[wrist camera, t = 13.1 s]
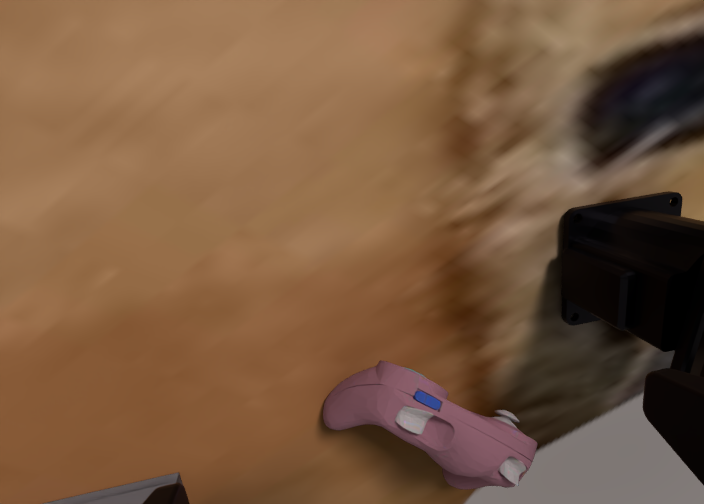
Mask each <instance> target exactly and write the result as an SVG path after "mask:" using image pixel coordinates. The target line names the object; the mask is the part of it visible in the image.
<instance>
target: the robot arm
mask: <svg viewBox="0 0 704 504" xmlns="http://www.w3.org/2000/svg"><path fill="white" fill-rule="evenodd" d="M670 200H671V203H670ZM681 208H682V196H681V194H679V193H677V192H662V193H656V194H651V195H645V196H639V197H633V198H627V199H621V200H616V201H610V202H604V203H598V204H592V205H586V206H581V207H575V208H571V209H569V210H568V211H567V212H566V214H565V216H564V234H563V253H562V290H561V294H562V319H563V320H564V321H565V322H566V323H568V324H569V325H578V324H583V323H588V322H592V321H597V320H603V321H605V322H607V323H608V324H610V325H612V326H614V327H615V328H617V329H619V330H626V331H628V332H630V333H631V334H633V335H635V336H637V337H638V338H640V339H642V340H644V341H646V342H647V343H649V344H651V345H653V346H654V347H656V348H658V349H660V350H661V351H663V352H668V351H672V350H674V351H675V353H674V356H673V359H672V363H671V366H670V369H669V368H666V369H661V370H657V371H652V372H650V373H648V374H647V376H646V378H645V386H644V397H643V411H644V414H645V416H646V417H647V419H648V421H649V422H650V423H651V424H652V425H653V426H654V428H655V429H656V430H657V431H658V432H659V434H660V435H661V436H662V437H663V438H664V439H665V440H666V442H667V443H668V444H669V445H670V446H671V447H672V449H673V450H674V451H675V452H676V453H677V455H678V456H679V457H680V458H681V459H682V461H683V462H684V463H685V464H686V465H687V466H688V468H689V469H690V470H691V471H692V472H693V473H694V474H695V476H696V477H697V478H698V479H699V480H700V482H701V483H702V484H703V485H704V221H700V220H695V219H690V218H685V217H681ZM575 215H577V219H576V220H575V221H574V220H573V219H574V217H575ZM573 313H574V315H573V317H571V315H572V314H573ZM142 504H189V501H188V497H187V494H186V491H185V488H184V486H183V485H182V484H181V483H174V484H169V485H165V486H161V487H158V488H156V489H155V490H154V491H153V492H152V493H151V494H150V495H149V496H148V498H147V499H146V500H145V501H144V502H143V503H142Z"/></svg>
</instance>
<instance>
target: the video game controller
mask: <svg viewBox="0 0 704 504" xmlns="http://www.w3.org/2000/svg"><path fill="white" fill-rule="evenodd" d="M447 396H448V392H447V391H446V390H445V389H443V388H442V387H441V386H439V385H438V384H436V383H434V382H433V381H431V380H429V379H427V378H426V377H425V376H423V375H422V374H420V373H418V372H416V371H414V370H411V369H408V368H406V367H401V366H398V365H395V364H392V363H389V362H386V361H379V363H378V365H377V366H375V367H372V368H369V369H366V370H363V371H361V372H358V373H356V374H354V375H352V376H350V377H349V378H347V379H345V380H344V381H342V382H341V383H340V384H338V385H337V386H336V387H335V388H334V390H333V391H332V392H331V393H330V394H329V395H328V397H327V399H326V400H325V404H324V408H323V420H324V422H325V425H326V426H327V427H329V428H330V429H333V430H344V429H347V428H351V427H355V426H359V425H365V424H374V425H378V426H381V427H383V428H385V429H386V430H388V431H389V432H391V433H393V434H394V435H396V436H397V437H399V438H401V439H402V440H404V441H406V442H408V443H410V444H412V445H414V446H416V447H418V448H420V449H422V450H424V451H425V452H426V453H427V454H428V455H429V456H430V457H431V458H432V459H433V460H434V461H435V462H436V463H437V464H439V465H440V466H441V467H442V471H443V476H444V478H445V480H446V481H447V483H448V484H449V485H451V486H453V487H455V488H458V489H475V488H480V487H485V486H502V487H514V486H515V485H517V486H519V485H518V483H519V481H520V479H521V478H522V477H523V476H524V474H525V473H526V472H527V470H528V469H529V468H530V466H531V463H532V461H533V458H534V455H535V451H536V448H537V445H538V443H537V442H536V441H535V440H533V439H532V438H530V437H528V436H526V435H525V434H524V433H522V432H521V431H520V430H519V429H517V427H516V426H515V425H514V424H513V423H512V422H511V421H513V422H518V423H519V420H518V419H517V418H516V417H515V416H514V414H512V413H510V412H508V411H506V410H495V413H496V414H498V415H500V416H501V417H484V416H481V415H479V414H476V413H474V412H471V411H468V410H466V409H464V408H461V407H460V406H458V405H456V404H454V403H452V402H450V401H448V400H446V399H447Z"/></svg>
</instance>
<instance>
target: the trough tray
mask: <svg viewBox="0 0 704 504" xmlns="http://www.w3.org/2000/svg"><path fill="white" fill-rule="evenodd" d="M174 483H181V484H182V481H181V478H180V475H179V473H175V474H170V475H166V476H162V477H157V478H153V479H148V480H144V481H140V482H135V483H131V484H127V485H122V486H118V487H114V488H109V489H105V490H100V491H96V492H92V493H87V494H83V495H79V496H74V497H70V498H66V499H61V500H57V501H52V502H48V503H44V504H142V503H143V502H144V501H145V500H146V499H147V498H148V496H149V495H150V494H151V493H152V492H153V491H154V490H155V489H156V488H158V487H161V486H165V485H169V484H174ZM182 485H183V484H182Z"/></svg>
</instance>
